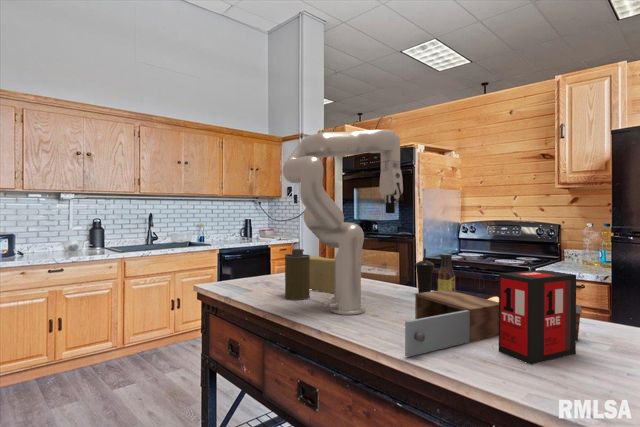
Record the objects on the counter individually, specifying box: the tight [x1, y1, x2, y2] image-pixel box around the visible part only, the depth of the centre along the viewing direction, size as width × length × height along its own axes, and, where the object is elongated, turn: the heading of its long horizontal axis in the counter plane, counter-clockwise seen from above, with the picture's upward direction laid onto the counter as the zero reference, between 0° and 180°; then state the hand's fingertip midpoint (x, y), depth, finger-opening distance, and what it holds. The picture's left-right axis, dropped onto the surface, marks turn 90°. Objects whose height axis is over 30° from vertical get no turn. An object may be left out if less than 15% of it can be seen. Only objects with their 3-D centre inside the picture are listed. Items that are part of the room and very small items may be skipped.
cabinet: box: [414, 290, 499, 343], centre depth 115 cm, size 14×22×9 cm, turn 27°
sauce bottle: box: [437, 253, 456, 292], centre depth 141 cm, size 7×6×20 cm
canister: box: [284, 248, 311, 301], centre depth 155 cm, size 11×10×20 cm
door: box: [404, 310, 470, 358], centre depth 96 cm, size 3×22×8 cm, turn 119°
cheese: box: [309, 255, 335, 294], centre depth 168 cm, size 22×10×15 cm, turn 47°
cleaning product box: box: [498, 269, 577, 365], centre depth 95 cm, size 16×9×20 cm, turn 114°
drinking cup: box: [415, 248, 435, 293], centre depth 159 cm, size 8×8×20 cm
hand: (390, 213), depth 148 cm, fingers closed
